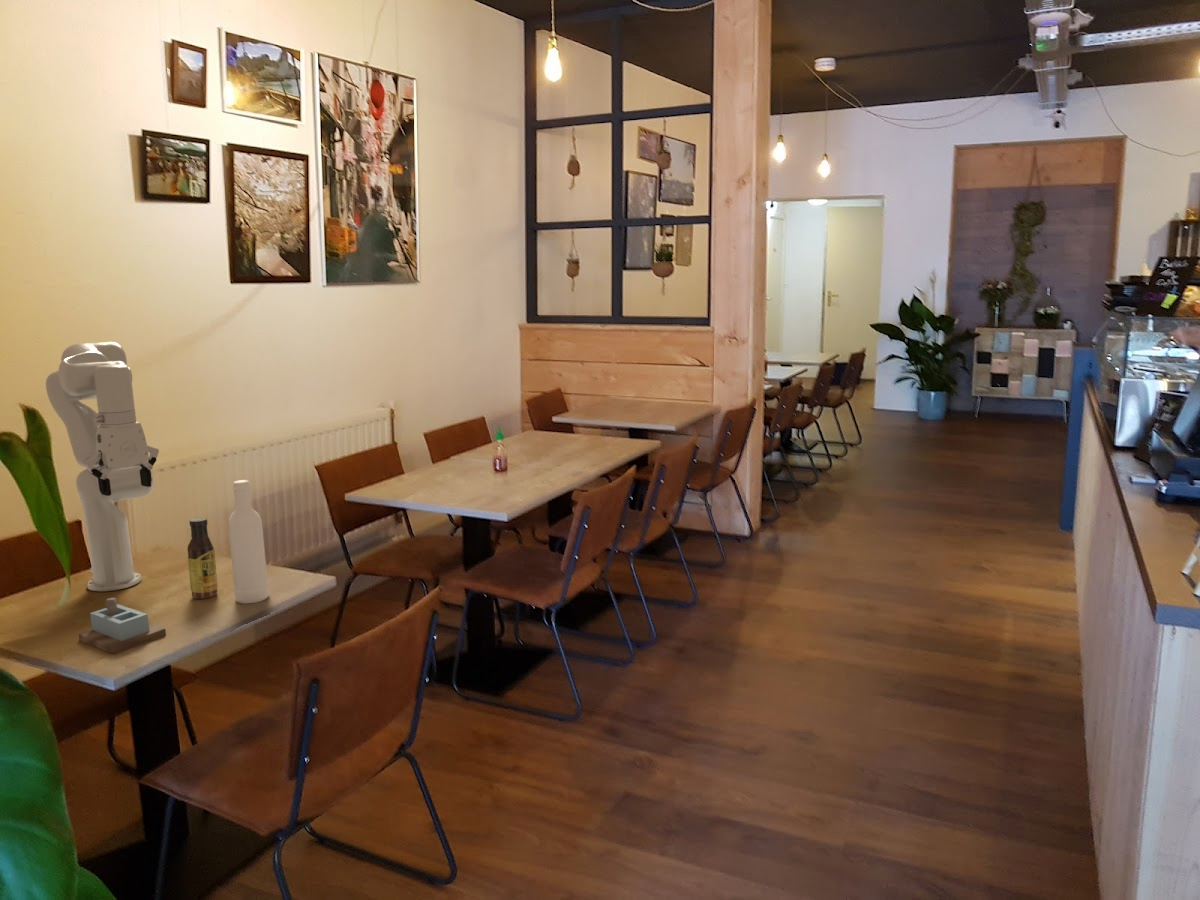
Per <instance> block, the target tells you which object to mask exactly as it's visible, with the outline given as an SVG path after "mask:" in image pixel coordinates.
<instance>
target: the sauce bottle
mask: <svg viewBox="0 0 1200 900" xmlns="http://www.w3.org/2000/svg"><path fill="white" fill-rule="evenodd" d="M189 526H190V532H191V533H190V534H191V536H190V537H191V539H190V541H189V543H188V545H187V554H188V555H187V565H188V574H189V583H190V585H189V587H190V592H191V596H192V598H193V599H196V600H203V599H204V600H205V599H209V598H213V597H215V596H216V595H217V594H218V587H219V586H218V578H217V564H216V553H215V548H214V546H213V543H212V542H211V539H210V537H209V533H208V519H207V517H195V518H191V519H190V520H189Z"/></svg>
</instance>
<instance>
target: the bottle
mask: <svg viewBox="0 0 1200 900" xmlns="http://www.w3.org/2000/svg"><path fill="white" fill-rule="evenodd" d="M232 485H233V486H232V490H233V495H234V504H235V510H234V511H233V512H232V513H231V515H230V517H229V520H228V524H227V525H228V526H227V527H228V529H227V530H228V536H229V547H230V555H231V565H232V566H231V567H232V575H233V576H232V577H233V585H234V587H233V589H234V590H233V591H234V597H235V601H236V602H237V603H239V604H246V605H247V604H256V603H259V602H262V601H265V600H267V598H269V596H270V595H269V590H270V589H269V583H268V574H267V572H268V571H267V562H266V561H267V560H266V552H265V540H264V531H263V521H262V519H261V515H260V514H259V512H258V511H256V510H255V509H254V508H252V500H251V485H250V481H249V480H247V479H240V480H235V481H233V483H232Z"/></svg>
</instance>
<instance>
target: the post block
mask: <svg viewBox="0 0 1200 900" xmlns="http://www.w3.org/2000/svg"><path fill="white" fill-rule="evenodd" d="M105 603H106V604H105V606H106V608H107V613H108V616H110V617H111V616H114V615H117V614H118V611H117V598H116V597H110V598H109V597H108V598H107V599H105ZM148 623H149V631H148V632H145V633H143V634H140V635H137V636H134V637H131V638H129V639H126V640H123V641H120V640H118V639H115V638H113V637H110V636H107V635H105V634H102V633H99V632H97V631H94V630H92V629H90V630H87V631H84V632H80V633H78V641H80V642H83V643H85V644H87V645H90V646H93V647H95V648H98V649H101V650H103V651H105V652H109V653H111V654H115V655H116V654H117V653H120V652H123V651H126V650H128V649H129V650H130V648H134V647H137V646H139V645H142V644H145V643H147V642H150V641H153V640H156V639H158V638H161V637H164V636H166V635H167V633H166V631H167V630H166V628H164V627H163V626H162V627H161V626H158V625H156V624H153V623H150V622H148Z"/></svg>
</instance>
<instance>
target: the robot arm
mask: <svg viewBox="0 0 1200 900" xmlns="http://www.w3.org/2000/svg"><path fill="white" fill-rule="evenodd" d="M60 358H61V359H60V360H61V362H60V364H59V365H58V370H56V371H54V372H51V373H50V374H49V375H48V376H47V378H46V380H45V388H46V394H47V397H48V400H49V403H50V405H51V407H52V409H53V410H54V412H55V413H56V415H57V416H58V418H60V420H61V421H62V422H63V424H64V427H65V428H66V431H67V435H68V438H69V442H70V445H71V448H72V449H71V450H72V453H73V455H74V458H75V460H76V463H77V464H79V466H81V467H82V468H85V469H83V470H82V471H80V472H79V474H78V475H77V477H76V479H75V482H76V483H75V484H76V485H75V486H76V489H77V493H78V496H79V499H80V503H81V505H82V511H83V514H84V515H83V516H84V520H85V529H86V534H87V543H88V550H89V556H90V557H89V558H90V564H91V567H90V568H89V572H91V573H92V579H90V580H88V582H87V584H86V585H87V589H88V590H89V591H93V592H112V591H119V590H124V589H126V588H129V587H133V586H135V585H137V584H138V583H140V582H141V581H142V575H141V573H138V572H135V571H134V570H135V569H134V561H133V553H132V546H131V539H130V530H129V522H128V517H127V515H126V513H125V512H124V511H123V510H122V509H121V508H119V507H118V506H117V505H115V503H116V502H120V501H125V500H129V499H130V500H131V499H137V498H142V497H146V496H148V495H150V494H151V493H152V492H153V490H154V477H153V475H152V470H153V467H154V465H155V463H156V462H157V458H158V455H159V453H160V449H159V448H155V447H153V446H150V445H148V443H147V439H146V435H145V432H144V429H143V425H142V424H141V421H137V415H136V410H135V409H136V406H135V399H134V390H133V374H132V370H131V367H130V366H128V359H127V355H126V351H125V350H124V348H123V346H121V345H120V344H119V343H117V342H115V341H103V342H101V341H100V342H99V341H98V342H83V343H76V344H72V345H70V346H68V347H66V348H65V349H64V351H63V352H62V353H61V357H60ZM83 400H85V401H86V400H96V404H97V405H96V406H97V412H96V411H95V410H94V409H93V408H91V407H90V406H89V405H86V404H85V403H83V402H81V401H83Z"/></svg>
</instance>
